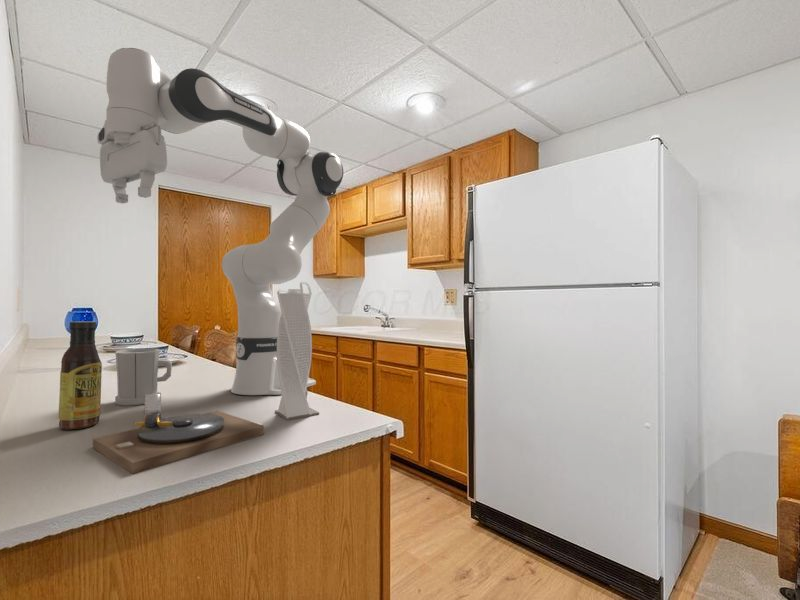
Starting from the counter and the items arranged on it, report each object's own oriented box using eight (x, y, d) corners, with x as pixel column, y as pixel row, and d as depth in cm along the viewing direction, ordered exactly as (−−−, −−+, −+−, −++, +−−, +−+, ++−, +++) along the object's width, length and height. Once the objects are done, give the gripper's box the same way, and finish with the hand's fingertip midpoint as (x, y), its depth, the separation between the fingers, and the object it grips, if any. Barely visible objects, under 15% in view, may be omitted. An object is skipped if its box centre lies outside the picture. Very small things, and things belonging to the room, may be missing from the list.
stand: (216, 418, 83) (217, 409, 83) (263, 434, 73) (263, 424, 73) (92, 447, 66) (92, 436, 66) (132, 473, 57) (132, 460, 57)
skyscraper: (322, 416, 85) (322, 281, 85) (284, 422, 80) (285, 280, 80) (305, 407, 92) (305, 282, 92) (269, 413, 87) (270, 281, 87)
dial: (234, 418, 77) (235, 385, 77) (205, 443, 64) (205, 403, 64) (156, 419, 76) (156, 386, 76) (110, 444, 63) (110, 404, 63)
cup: (152, 393, 104) (152, 346, 104) (174, 398, 99) (175, 349, 99) (106, 403, 94) (106, 351, 94) (129, 408, 90) (129, 354, 90)
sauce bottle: (77, 432, 74) (77, 322, 74) (49, 430, 75) (49, 322, 75) (109, 421, 80) (110, 320, 80) (83, 419, 82) (83, 320, 81)
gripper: (176, 125, 80) (176, 196, 80) (126, 146, 91) (126, 208, 91) (141, 113, 75) (141, 189, 75) (93, 137, 86) (93, 202, 86)
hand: (132, 199), depth 83 cm, fingers open, 8 cm apart
